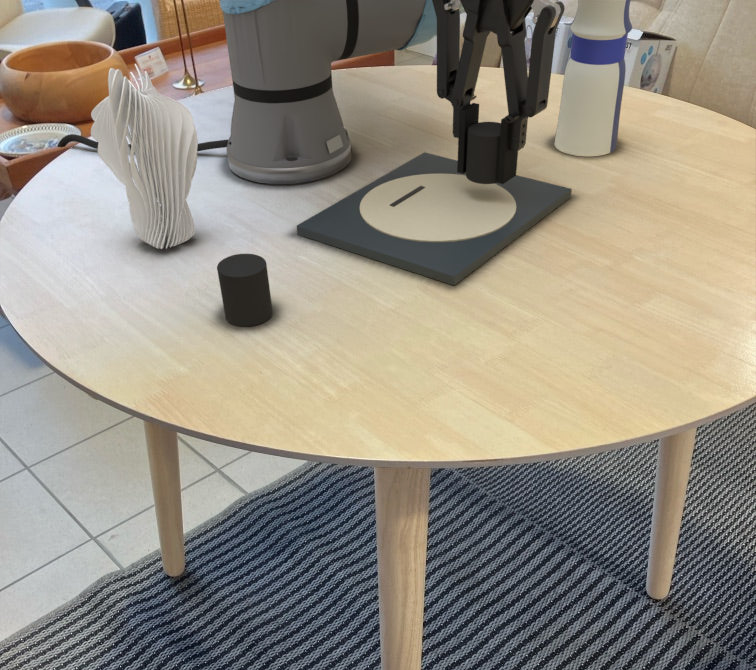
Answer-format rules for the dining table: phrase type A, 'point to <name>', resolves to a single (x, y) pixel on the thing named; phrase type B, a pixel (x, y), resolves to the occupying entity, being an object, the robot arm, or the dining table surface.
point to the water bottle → (594, 79)
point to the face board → (434, 218)
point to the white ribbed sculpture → (149, 156)
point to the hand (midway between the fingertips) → (486, 173)
